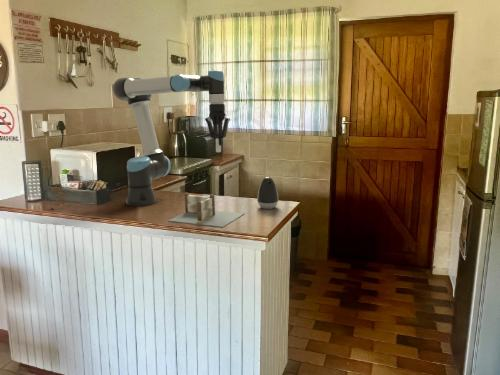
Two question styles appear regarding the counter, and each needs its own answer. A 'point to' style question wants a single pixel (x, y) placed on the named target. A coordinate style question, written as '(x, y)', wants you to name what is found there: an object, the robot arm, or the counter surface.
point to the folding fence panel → (204, 208)
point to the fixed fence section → (192, 202)
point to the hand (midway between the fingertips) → (218, 151)
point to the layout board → (208, 219)
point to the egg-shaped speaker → (267, 194)
